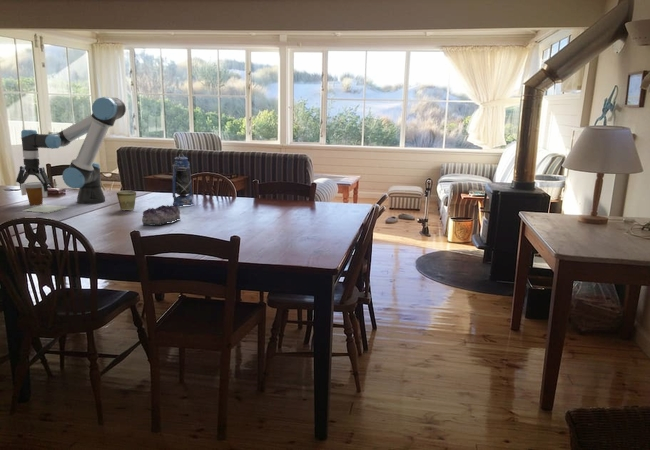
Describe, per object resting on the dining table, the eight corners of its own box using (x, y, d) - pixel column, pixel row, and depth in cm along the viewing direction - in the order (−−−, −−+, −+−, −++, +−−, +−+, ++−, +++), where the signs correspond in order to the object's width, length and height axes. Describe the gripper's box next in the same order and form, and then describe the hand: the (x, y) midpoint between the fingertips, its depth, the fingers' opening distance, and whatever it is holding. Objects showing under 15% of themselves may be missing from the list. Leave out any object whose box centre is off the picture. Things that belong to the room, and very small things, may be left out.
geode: (168, 218, 258) (170, 199, 255) (185, 224, 253) (186, 205, 250) (136, 223, 240) (138, 203, 238) (153, 230, 235) (155, 209, 232)
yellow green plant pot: (130, 212, 267) (129, 194, 265) (113, 211, 269) (112, 192, 267) (143, 207, 280) (142, 190, 277) (127, 206, 281) (126, 189, 279)
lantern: (181, 208, 282) (179, 155, 275) (165, 205, 287) (163, 153, 280) (200, 204, 295) (198, 153, 288) (184, 201, 301) (182, 152, 294)
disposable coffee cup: (39, 206, 275) (37, 184, 273) (22, 205, 275) (20, 184, 273) (49, 203, 285) (47, 182, 282) (32, 202, 285) (30, 181, 282)
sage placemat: (68, 207, 273) (67, 206, 273) (48, 213, 259) (47, 212, 259) (44, 206, 276) (44, 205, 276) (23, 211, 262) (23, 210, 262)
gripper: (55, 159, 275) (58, 196, 280) (17, 156, 280) (20, 193, 285) (45, 160, 268) (49, 198, 273) (6, 157, 273) (10, 195, 278)
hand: (34, 196), depth 279 cm, fingers open, 13 cm apart
